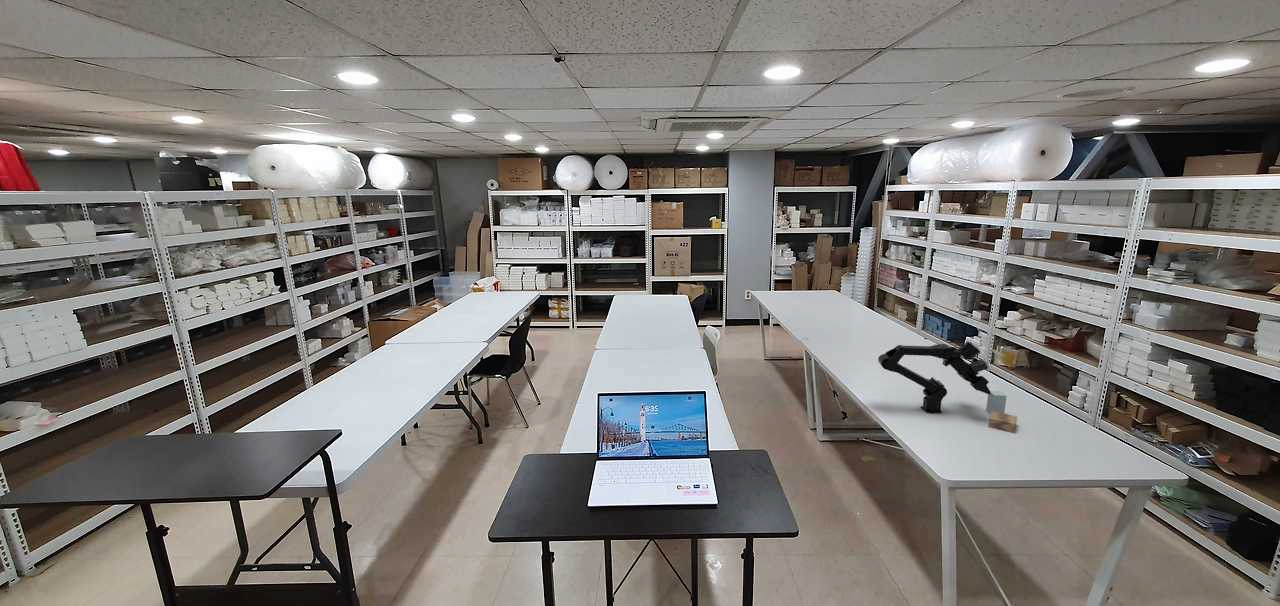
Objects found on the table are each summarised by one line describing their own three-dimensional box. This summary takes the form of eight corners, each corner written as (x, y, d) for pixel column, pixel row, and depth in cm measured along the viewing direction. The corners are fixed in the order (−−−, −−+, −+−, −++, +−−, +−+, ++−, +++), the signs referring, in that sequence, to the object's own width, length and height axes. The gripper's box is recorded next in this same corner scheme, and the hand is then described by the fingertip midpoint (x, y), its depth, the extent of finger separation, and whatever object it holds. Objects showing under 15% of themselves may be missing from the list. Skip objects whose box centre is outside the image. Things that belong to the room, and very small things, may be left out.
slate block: (991, 415, 215) (993, 395, 212) (986, 410, 219) (988, 390, 217) (1003, 416, 213) (1006, 395, 211) (998, 411, 218) (1001, 391, 216)
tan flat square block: (988, 426, 204) (989, 418, 204) (990, 419, 211) (991, 411, 210) (1014, 432, 199) (1015, 424, 198) (1016, 424, 205) (1017, 416, 204)
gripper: (985, 361, 204) (1011, 386, 204) (967, 348, 222) (991, 371, 221) (963, 377, 207) (989, 402, 207) (946, 363, 225) (970, 386, 225)
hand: (985, 389), depth 215 cm, fingers open, 9 cm apart
